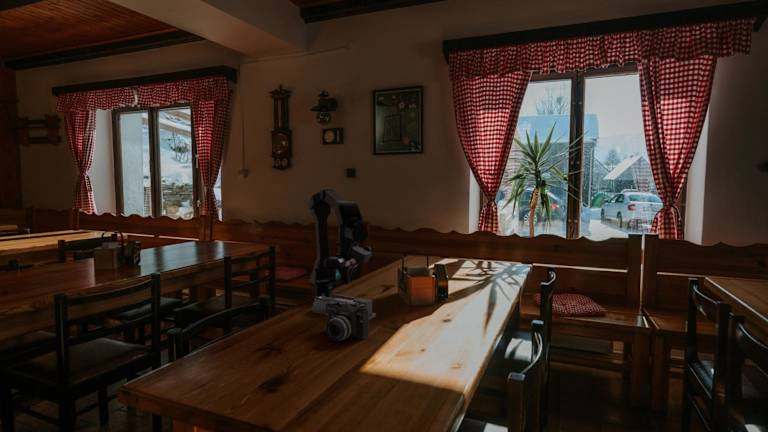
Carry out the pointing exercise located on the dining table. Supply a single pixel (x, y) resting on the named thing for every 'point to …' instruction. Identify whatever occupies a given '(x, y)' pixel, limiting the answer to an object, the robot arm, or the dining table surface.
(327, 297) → the light grey flat bar
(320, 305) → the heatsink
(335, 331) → the camera
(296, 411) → the dining table surface
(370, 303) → the clip
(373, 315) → the clip rail
